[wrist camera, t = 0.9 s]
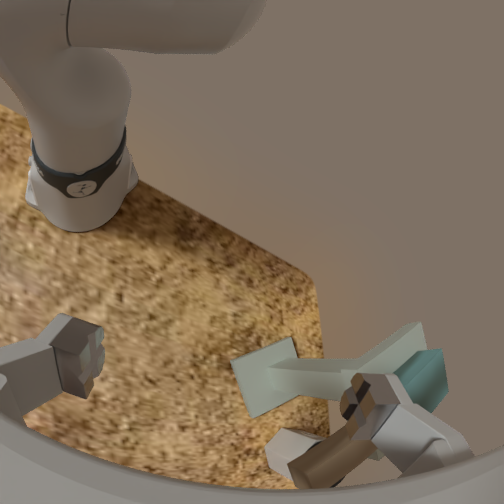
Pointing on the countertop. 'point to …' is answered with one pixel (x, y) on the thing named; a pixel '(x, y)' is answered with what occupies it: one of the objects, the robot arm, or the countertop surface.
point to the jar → (290, 449)
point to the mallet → (356, 451)
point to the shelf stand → (316, 371)
